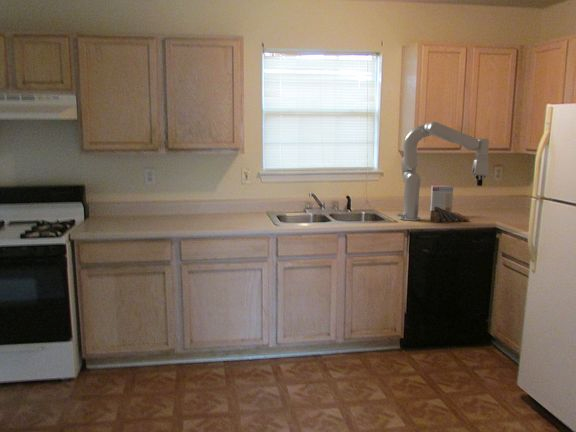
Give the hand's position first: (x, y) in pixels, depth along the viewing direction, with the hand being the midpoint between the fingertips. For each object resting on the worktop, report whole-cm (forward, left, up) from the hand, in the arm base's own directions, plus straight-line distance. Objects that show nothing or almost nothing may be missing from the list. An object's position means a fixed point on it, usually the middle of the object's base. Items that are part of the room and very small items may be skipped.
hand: (479, 185), depth 335 cm
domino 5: (-7, 0, -22) cm, 24 cm away
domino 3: (-17, 0, -22) cm, 28 cm away
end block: (-31, 0, -23) cm, 39 cm away
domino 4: (-12, 0, -22) cm, 25 cm away
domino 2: (-21, 0, -23) cm, 31 cm away
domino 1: (-26, 0, -23) cm, 34 cm away
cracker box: (-14, +22, -23) cm, 35 cm away
